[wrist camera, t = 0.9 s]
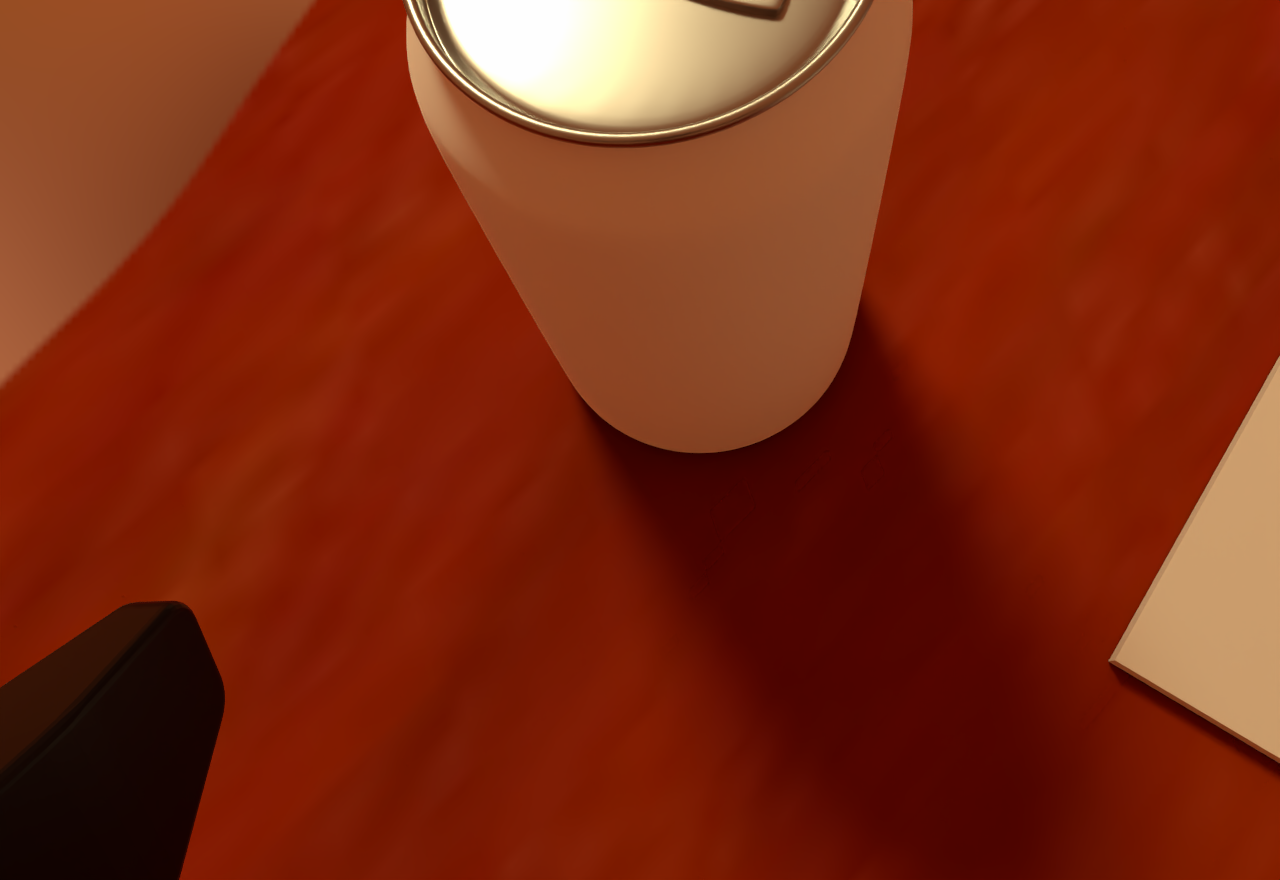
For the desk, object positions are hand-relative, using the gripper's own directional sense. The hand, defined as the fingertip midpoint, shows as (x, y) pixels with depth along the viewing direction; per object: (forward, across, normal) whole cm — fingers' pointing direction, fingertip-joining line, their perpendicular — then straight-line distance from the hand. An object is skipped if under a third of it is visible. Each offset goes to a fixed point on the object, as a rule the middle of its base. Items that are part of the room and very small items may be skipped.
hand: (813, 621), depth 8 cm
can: (+16, +1, +5) cm, 17 cm away
